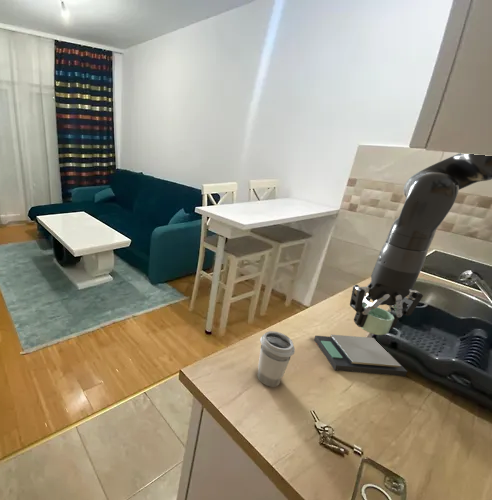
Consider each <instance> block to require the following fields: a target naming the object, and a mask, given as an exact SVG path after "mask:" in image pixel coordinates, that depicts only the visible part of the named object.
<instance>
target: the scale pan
mask: <svg viewBox="0 0 492 500" xmlns="http://www.w3.org/2000/svg"><path fill="white" fill-rule="evenodd" d="M329 337H331V338H332V339H333V340H334V342H335V343H336V344H337V346H338V347H339V348H340V349H341V351H342V352H343V353H344V354H345V356H346V357H347V358H348V360H349V361H350V362H351V363H353V364H365V365H376V366H388V367H401V365H402V364H401V363H400V362H399V361H398V360H397V359H396V358H395V357H394V356H393V355H392V354H391V353H390V352H389V351H388V350H387V349H386V348H385V347H384V346H383V345H382V344H381V343H380V342H379V341H378V340H377V339H375V337H368V336H353V335H343V334H342V335H341V334H330V335H329ZM376 340H377V341H378V342H379V343H380V344H381V345H382V346H383V347H384V348H385V349H386V350H387V351H388V352H389V353H390V354H391V355H392V356H393V357H394V358H395V359H396V360H397V361H398V362H399V363H400V364H401V365H400V364H399V363H398V362H397V361H396V360H395V359H394V358H393V357H392V356H391V355H390V354H389V353H388V352H387V351H386V350H385V349H384V348H383V347H382V346H381V345H380V344H379V343H378V342H377V341H376Z"/></svg>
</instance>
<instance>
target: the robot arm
mask: <svg viewBox="0 0 492 500" xmlns="http://www.w3.org/2000/svg"><path fill="white" fill-rule="evenodd" d="M488 181H492V156H485V155H474V154H461V152H460V153H456V154H455V155H452V156H449V157H447V158H445V159H443V160H441V161H438V162H436V163H434V164H431V165H430V166H428V167H427V166H426V168H423V169H421V170H419V171H417V172H416V173H415V174H413V175H411V176H410V177H409V178H408V179H407V180H406V182H405V183H404V185H403V195H404V197H405V200H404V204H403V206H402V208H401V211H400V213H399V216H398V217H396V218H395V219H394V221H393V222H392V225H391V226H390V229H389V231H388V234H387V237H386V239H385V242H384V243H383V246H381V249H380V251H379V254H378V256H377V259H376V262H375V264H374V267H373V270H372V272H371V275H370V283H368V284H367V285H366V286H360V285H359V284H354V285H353V286H352V291H351V296H350V301H349V302H350V303H349V306H350V307H351V308H352V309H353V310H354V311H355V314H354V317H353V322H354V324H355V325H356V326H357V327H358V328H361V327H363V326H364V323H365V321H366V318H367V316H368V315H367V314H368V313H369V312H370V311H371V310H372V309H376V308H377V307H380V306H384V305H385V306H388V309H389V312H390V313H391V314H392V315H393V316H394V321H393V323H392V325H391V328H390V330H393V329H394V328H395V327H396V326H397V323H398V321H399V319H400V318H402V316H407V317H409V316H411V315H412V314H413V313H414V311H415V310H416V308H417V306H419V305H418V304H419V303H420V302H421V300H422V299H423V297H424V295H423V294H422V293H421V292H419V291H418V290H416V289H415V288H414V286H415V285H416V283H417V280H418V278H419V275H420V273H421V271H422V268H423V266H424V265H425V262H426V259H427V254H428V251H429V249H430V246H431V244H432V242H433V241H434V238H435V235H436V232H437V230H438V228H439V227H440V225H441V224H442V223H443V221H444V220H445V219H446V217H447V216H448V214H449V213H450V212H451V210H452V208H453V206H454V204H455V202H456V200H457V198H458V195H459V191H460V190H463V189H464V188H467V187H469V186H471V185H474V184H476V183H479V182H488ZM365 306H367V307H365ZM364 307H365V308H364ZM390 330H389V331H390Z"/></svg>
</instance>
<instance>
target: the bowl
mask: <svg viewBox="0 0 492 500" xmlns="http://www.w3.org/2000/svg"><path fill="white" fill-rule="evenodd" d="M365 307H367V305H366V306H365ZM365 307H364V308H365ZM367 315H368V316H367V318H366V321H365V323H364V326H363V327H360V328H361V329H362V330H363V331H365V332H367V333H369V334H372V335H376V336H383V335H387V334H389V333H390V328H391V325H392V323H393V321H394V316H393V315H392V314H391V313H390V311H388V310H386V309H384V308H381V307H380V306H378V307H377V308H376V309H372V310H371V311H370V312H369V313H368V314H367Z"/></svg>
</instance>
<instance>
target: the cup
mask: <svg viewBox="0 0 492 500" xmlns="http://www.w3.org/2000/svg"><path fill="white" fill-rule="evenodd" d="M259 342H260V350H259V356H258V357H259V358H258V363H257V378H258V380H259V382H260V383H262V384H263V385H264V386H267V387H269V388H275V387H278V386H280V383H281V380H282V379H283V377H284V374H285V371H286V370H287V367H288V365H289V362H290V360H291V357H292V356H293V355H295V352H296V350H295V346H294V342H293V340H292V339H291V338H290V337H289V336H288V335H286V334H284V333H283V332H278V331H271V330H269V331H267V332H265V333H264V334H263V335H261V337H260V340H259Z"/></svg>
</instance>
